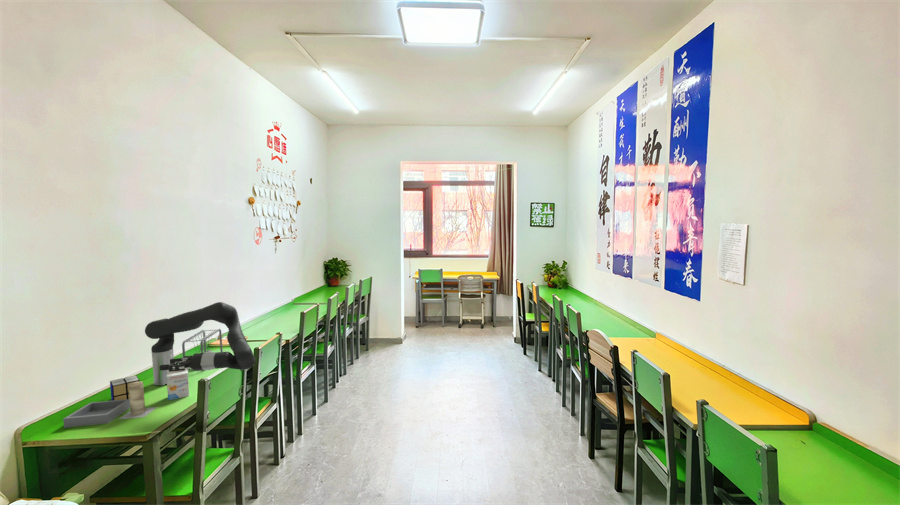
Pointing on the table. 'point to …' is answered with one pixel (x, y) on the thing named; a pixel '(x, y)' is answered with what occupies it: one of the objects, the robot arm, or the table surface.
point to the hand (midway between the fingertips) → (165, 364)
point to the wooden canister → (137, 398)
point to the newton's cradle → (202, 341)
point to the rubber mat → (147, 411)
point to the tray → (97, 413)
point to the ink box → (177, 384)
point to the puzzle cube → (122, 387)
